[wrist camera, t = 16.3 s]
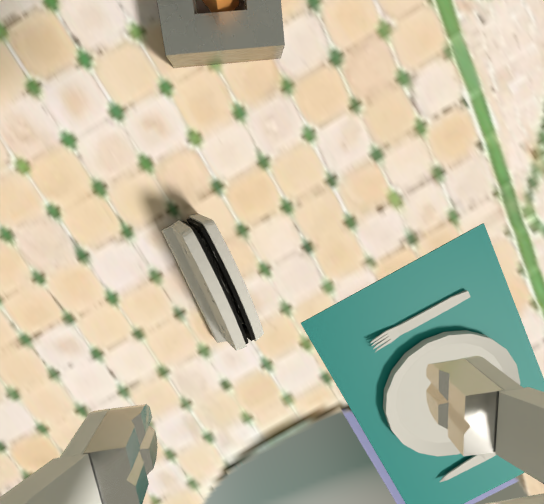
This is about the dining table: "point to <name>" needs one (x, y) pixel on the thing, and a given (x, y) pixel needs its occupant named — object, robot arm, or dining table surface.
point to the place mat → (424, 365)
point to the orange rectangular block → (221, 5)
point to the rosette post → (221, 33)
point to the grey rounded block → (214, 280)
